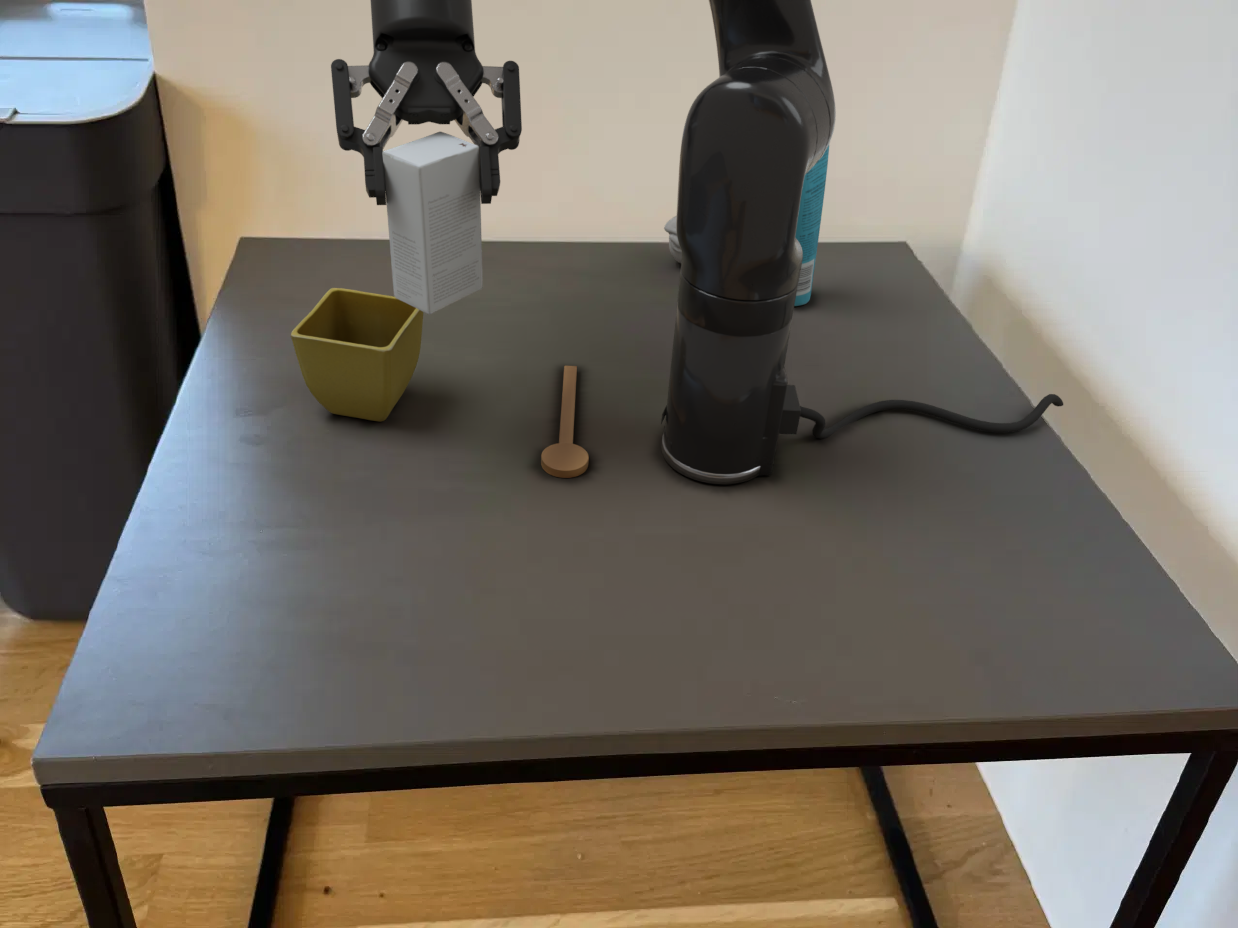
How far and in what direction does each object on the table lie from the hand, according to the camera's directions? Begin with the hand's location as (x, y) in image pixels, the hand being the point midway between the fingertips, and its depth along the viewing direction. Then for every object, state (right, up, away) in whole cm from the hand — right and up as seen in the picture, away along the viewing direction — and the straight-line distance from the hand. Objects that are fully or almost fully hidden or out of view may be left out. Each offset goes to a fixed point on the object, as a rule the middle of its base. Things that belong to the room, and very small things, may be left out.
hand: (434, 200), depth 81 cm
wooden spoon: (+9, -16, +17) cm, 25 cm away
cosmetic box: (-1, -6, +6) cm, 9 cm away
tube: (+32, -1, +40) cm, 51 cm away
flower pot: (-9, -14, +18) cm, 25 cm away
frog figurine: (+22, +3, +45) cm, 50 cm away
